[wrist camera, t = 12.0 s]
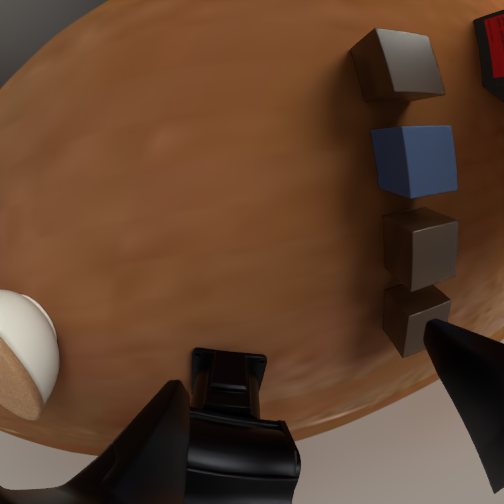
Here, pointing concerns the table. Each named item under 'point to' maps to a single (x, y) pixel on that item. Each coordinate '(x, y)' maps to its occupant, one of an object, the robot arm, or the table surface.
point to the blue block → (415, 160)
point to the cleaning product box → (492, 51)
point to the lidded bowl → (26, 355)
